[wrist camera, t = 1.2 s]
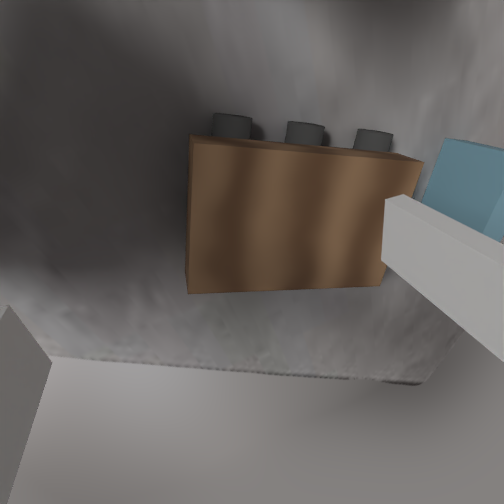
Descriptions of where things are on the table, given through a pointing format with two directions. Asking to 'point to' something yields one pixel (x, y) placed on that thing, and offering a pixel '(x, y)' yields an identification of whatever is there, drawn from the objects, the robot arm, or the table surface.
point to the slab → (287, 214)
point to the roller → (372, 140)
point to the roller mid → (304, 133)
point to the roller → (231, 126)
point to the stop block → (469, 186)
